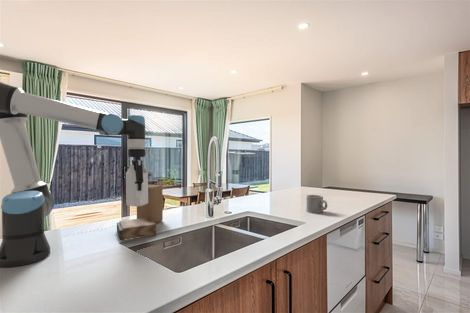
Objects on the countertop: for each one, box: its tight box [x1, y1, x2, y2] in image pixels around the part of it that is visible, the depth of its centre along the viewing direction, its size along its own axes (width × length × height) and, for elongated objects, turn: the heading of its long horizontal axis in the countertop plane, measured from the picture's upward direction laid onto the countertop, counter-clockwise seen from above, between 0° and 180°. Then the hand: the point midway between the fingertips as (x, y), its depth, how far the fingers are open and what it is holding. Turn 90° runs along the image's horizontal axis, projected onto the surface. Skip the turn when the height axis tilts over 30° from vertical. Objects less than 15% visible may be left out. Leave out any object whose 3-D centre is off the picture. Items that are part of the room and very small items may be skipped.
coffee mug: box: [306, 194, 328, 214], centre depth 163 cm, size 13×10×10 cm
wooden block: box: [136, 184, 164, 224], centre depth 139 cm, size 10×10×20 cm
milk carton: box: [125, 163, 149, 207], centre depth 121 cm, size 7×7×19 cm
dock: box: [116, 217, 157, 241], centre depth 121 cm, size 15×14×5 cm
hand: (137, 196), depth 121 cm, fingers closed on milk carton, 10 cm apart
